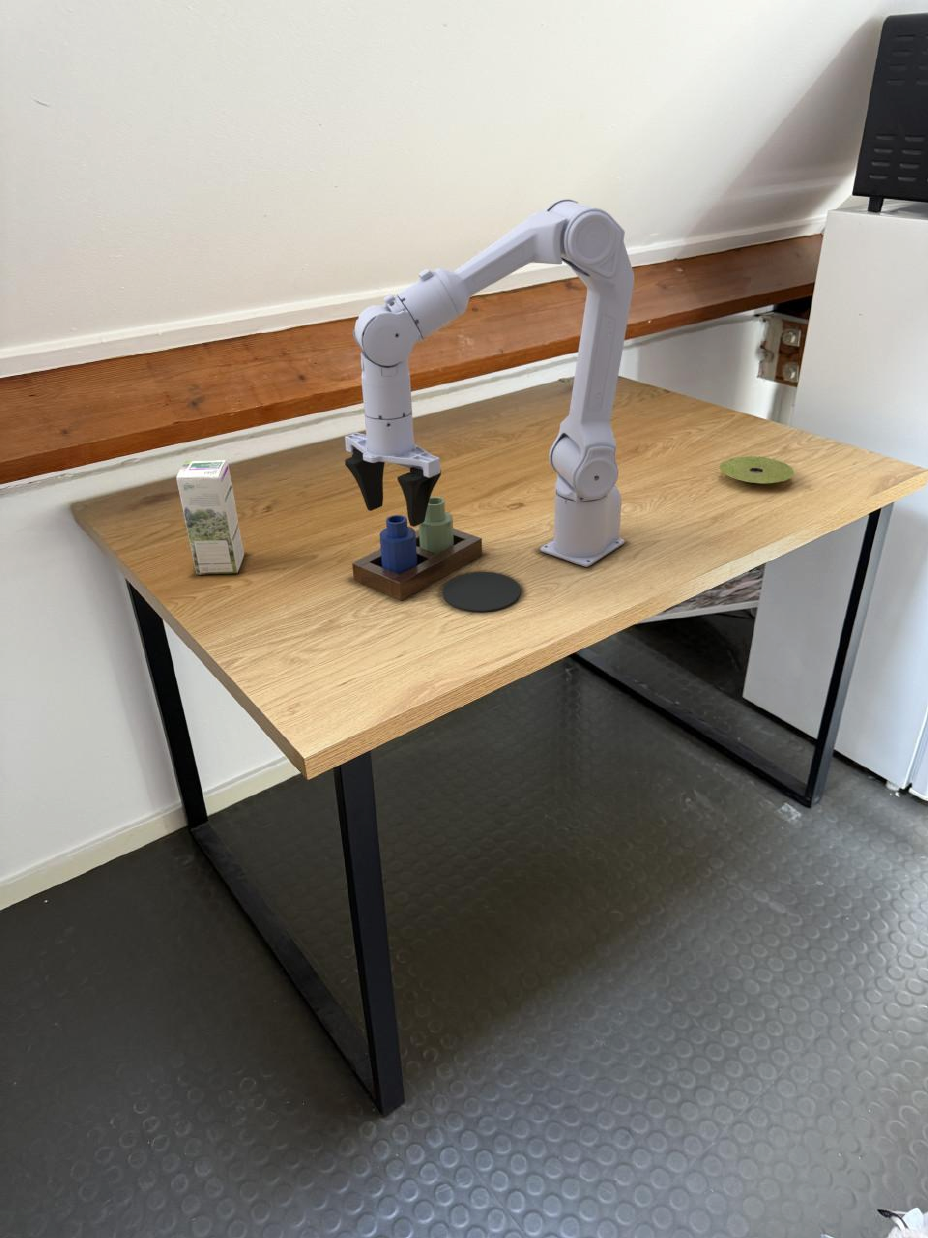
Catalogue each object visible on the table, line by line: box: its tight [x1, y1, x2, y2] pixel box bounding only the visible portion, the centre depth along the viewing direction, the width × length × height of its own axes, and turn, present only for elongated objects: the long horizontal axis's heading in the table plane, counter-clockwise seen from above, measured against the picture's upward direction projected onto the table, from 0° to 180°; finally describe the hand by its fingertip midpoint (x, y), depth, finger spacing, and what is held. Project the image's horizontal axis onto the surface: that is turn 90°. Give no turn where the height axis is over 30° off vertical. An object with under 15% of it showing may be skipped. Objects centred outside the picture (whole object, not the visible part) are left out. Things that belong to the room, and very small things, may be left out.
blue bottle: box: [379, 514, 417, 575], centre depth 118 cm, size 5×5×8 cm
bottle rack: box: [351, 527, 483, 601], centre depth 122 cm, size 9×16×3 cm, turn 139°
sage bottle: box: [418, 496, 454, 554], centre depth 123 cm, size 5×5×8 cm
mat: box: [719, 455, 795, 484], centre depth 144 cm, size 11×11×2 cm
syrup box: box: [175, 459, 245, 576], centre depth 121 cm, size 6×6×14 cm
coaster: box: [442, 571, 522, 613], centre depth 116 cm, size 10×10×1 cm
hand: (395, 515), depth 116 cm, fingers open, 7 cm apart
